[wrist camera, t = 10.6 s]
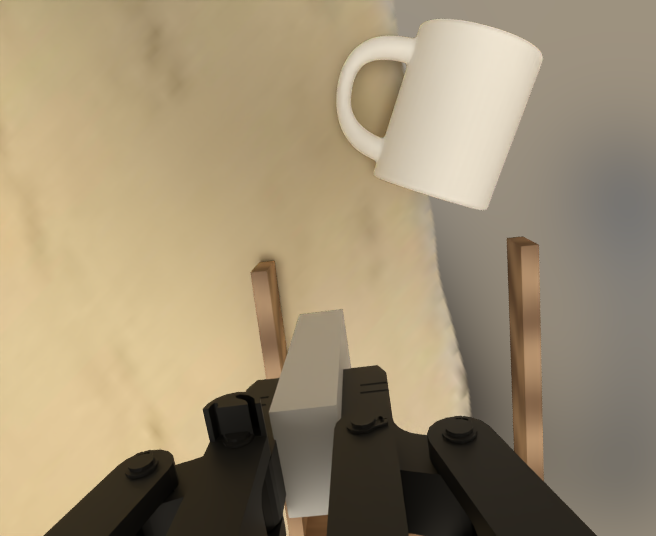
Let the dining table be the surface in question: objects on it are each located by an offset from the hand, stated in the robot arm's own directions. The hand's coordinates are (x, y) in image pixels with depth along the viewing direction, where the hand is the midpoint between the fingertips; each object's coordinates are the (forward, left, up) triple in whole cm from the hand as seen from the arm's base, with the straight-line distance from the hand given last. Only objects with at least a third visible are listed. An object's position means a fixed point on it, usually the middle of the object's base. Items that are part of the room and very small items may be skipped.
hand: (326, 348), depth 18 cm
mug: (-9, +6, -23) cm, 25 cm away
